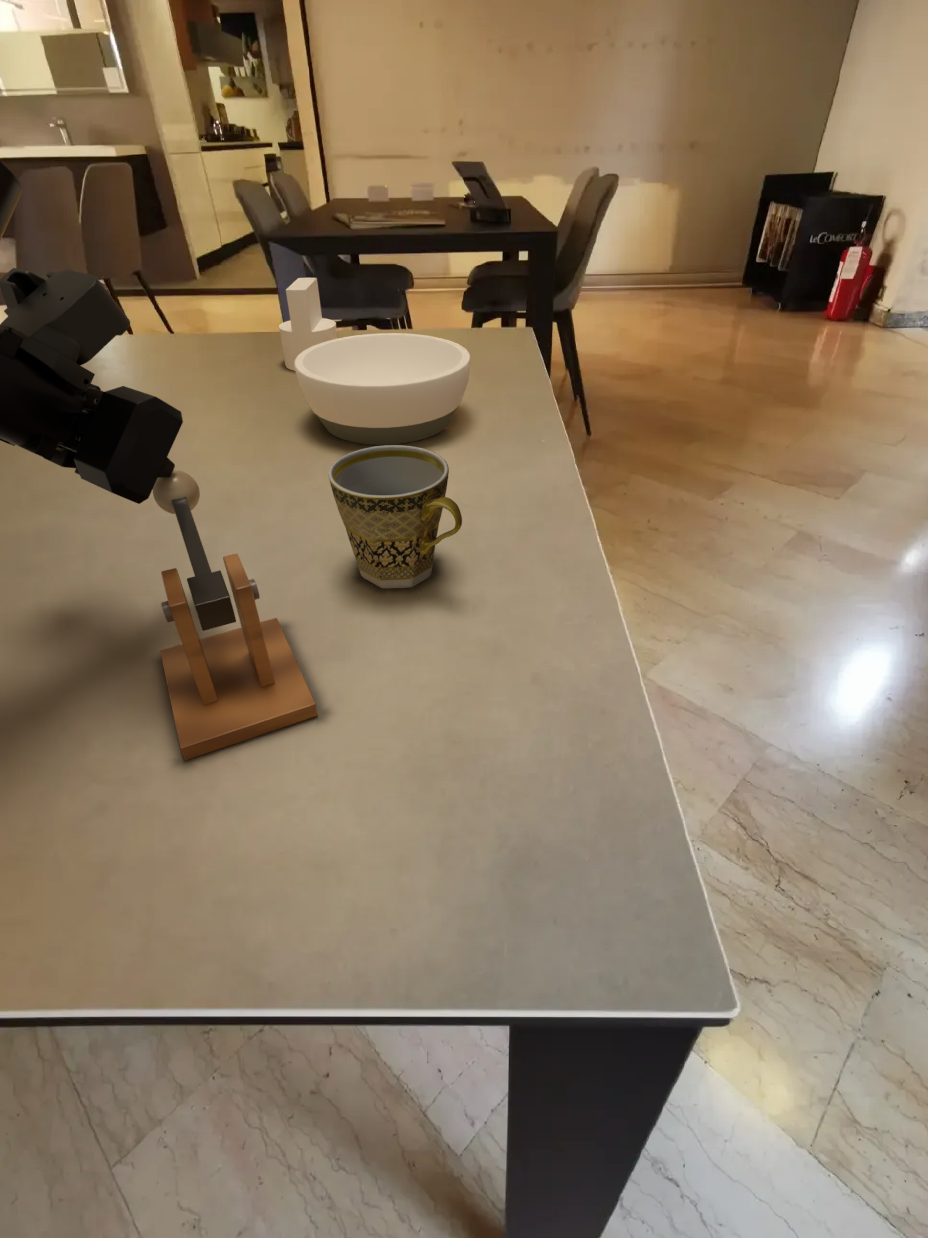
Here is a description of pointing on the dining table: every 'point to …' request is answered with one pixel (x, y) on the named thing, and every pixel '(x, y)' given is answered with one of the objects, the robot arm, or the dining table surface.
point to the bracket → (230, 672)
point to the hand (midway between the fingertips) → (169, 469)
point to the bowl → (384, 385)
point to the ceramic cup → (393, 510)
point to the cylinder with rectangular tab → (304, 321)
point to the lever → (195, 550)
